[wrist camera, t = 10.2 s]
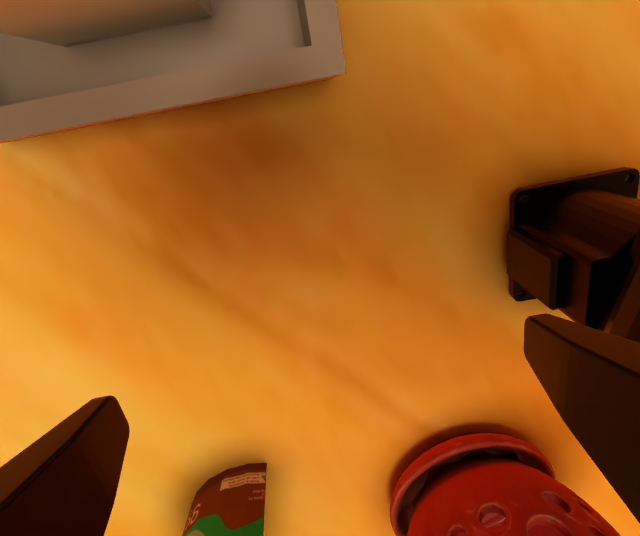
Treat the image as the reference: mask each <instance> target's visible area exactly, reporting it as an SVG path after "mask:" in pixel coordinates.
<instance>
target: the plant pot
mask: <svg viewBox="0 0 640 536" xmlns="http://www.w3.org/2000/svg"><path fill="white" fill-rule="evenodd" d="M390 519H391V524H392V527H393V530H394V532H395V534H396V536H620V534H619V533H618V532H617V531H616V530H615V529H614V528H613V527H612V526H611V525H610V524H609V523H608V522H607V521H606V520H605V519H604V518H603V517H602V516H601V515H600V514H599V513H597V512H596V511H595V510H594V509H593V508H592V507H591V506H590V505H589V504H588V503H586V502H585V501H584V500H583V499H582V498H580V497H579V496H578V495H576V494H575V493H574V492H573V491H571V490H570V489H569V488H567V487H566V486H564V485H563V484H561V483H560V482H558V481H557V480H555V475H554V471H553V469H552V467H551V464H550V463H549V461H548V460H547V459H546V457H545V456H544V455H543V454H542V453H541V452H540V451H539V450H538V449H537V448H535V447H534V446H532V445H531V444H529V443H527V442H525V441H523V440H520V439H518V438H515V437H512V436H509V435H503V434H496V433H476V434H469V435H464V436H459V437H456V438H453V439H450V440H447V441H445V442H442V443H440V444H438V445H436V446H434V447H432V448H431V449H429V450H428V451H426V452H425V453H423V454H422V455H421V456H419V457H418V458H417V459H416V460H414V461H413V462H412V463H411V464H410V465H409V466H408V468H407V469H406V470H405V471H404V472H403V474H402V475H401V477H400V478H399V480H398V482H397V484H396V486H395V489H394V492H393V495H392V499H391V505H390Z"/></svg>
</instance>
